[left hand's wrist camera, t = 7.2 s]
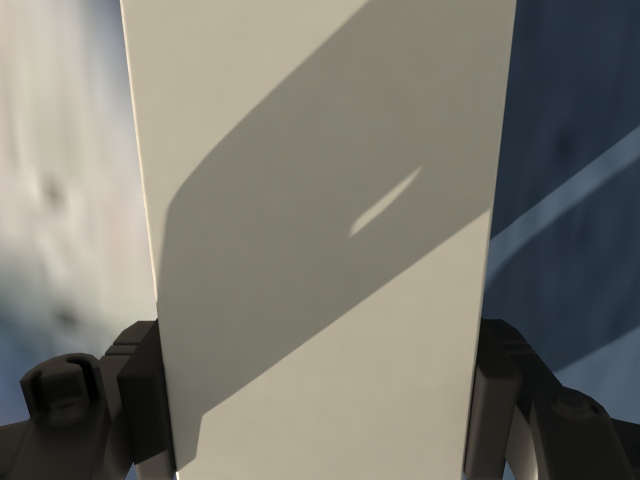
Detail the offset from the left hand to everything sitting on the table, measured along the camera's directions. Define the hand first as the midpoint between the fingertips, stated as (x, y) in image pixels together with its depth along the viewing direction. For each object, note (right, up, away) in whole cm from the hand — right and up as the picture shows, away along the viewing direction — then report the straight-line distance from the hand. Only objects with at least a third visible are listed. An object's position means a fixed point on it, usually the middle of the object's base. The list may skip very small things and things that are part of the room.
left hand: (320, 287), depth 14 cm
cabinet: (0, +5, +4) cm, 6 cm away
